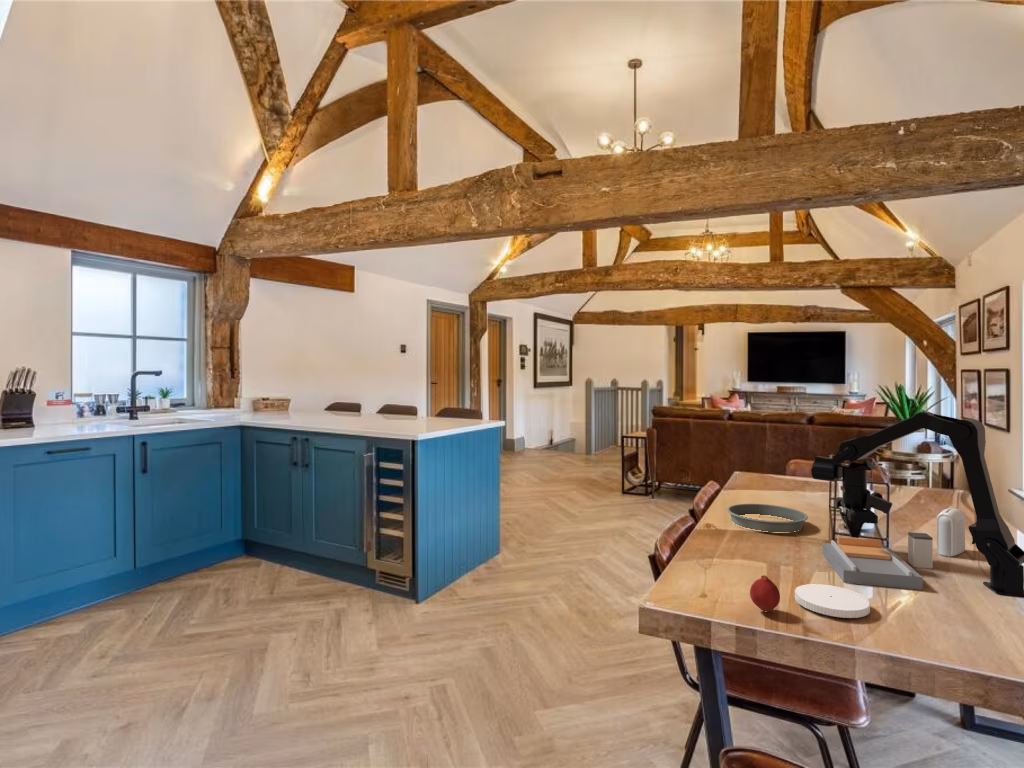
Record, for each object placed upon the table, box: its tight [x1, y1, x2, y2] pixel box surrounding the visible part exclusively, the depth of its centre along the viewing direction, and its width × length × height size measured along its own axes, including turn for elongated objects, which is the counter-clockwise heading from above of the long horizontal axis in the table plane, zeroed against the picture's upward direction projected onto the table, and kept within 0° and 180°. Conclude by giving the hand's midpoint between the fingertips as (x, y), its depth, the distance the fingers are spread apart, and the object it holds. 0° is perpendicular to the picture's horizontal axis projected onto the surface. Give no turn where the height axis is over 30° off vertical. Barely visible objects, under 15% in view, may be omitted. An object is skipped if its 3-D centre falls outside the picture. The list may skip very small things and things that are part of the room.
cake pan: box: [726, 503, 809, 533], centre depth 180 cm, size 25×25×4 cm
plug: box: [907, 532, 934, 570], centre depth 140 cm, size 4×4×8 cm
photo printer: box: [936, 507, 966, 558], centre depth 150 cm, size 10×4×12 cm, turn 123°
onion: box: [749, 574, 781, 612], centre depth 114 cm, size 6×6×8 cm
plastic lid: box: [794, 583, 871, 619], centre depth 116 cm, size 14×14×2 cm
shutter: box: [836, 536, 891, 560], centre depth 141 cm, size 8×10×3 cm
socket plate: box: [822, 539, 923, 591], centre depth 137 cm, size 22×16×4 cm
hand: (854, 540), depth 149 cm, fingers closed
